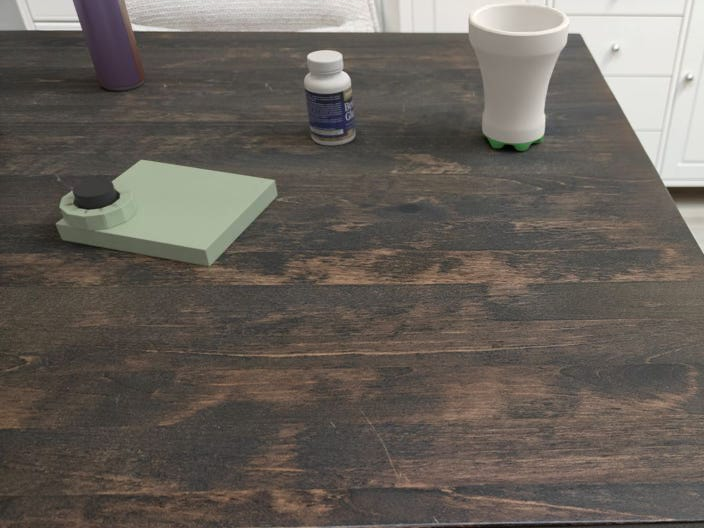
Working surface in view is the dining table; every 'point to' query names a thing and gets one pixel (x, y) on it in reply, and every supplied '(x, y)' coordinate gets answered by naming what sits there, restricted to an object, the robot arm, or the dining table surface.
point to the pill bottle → (329, 99)
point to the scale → (170, 212)
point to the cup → (516, 67)
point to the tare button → (95, 194)
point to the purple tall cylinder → (111, 43)
